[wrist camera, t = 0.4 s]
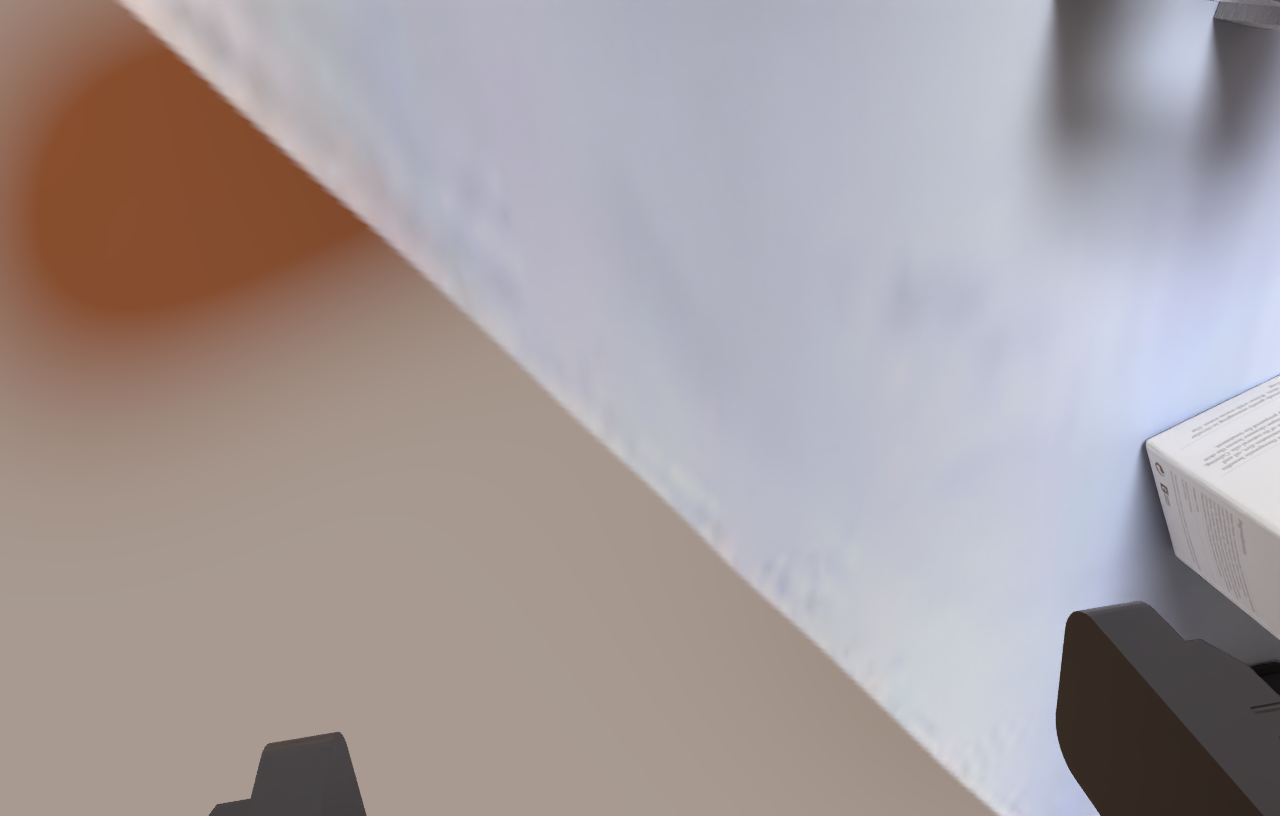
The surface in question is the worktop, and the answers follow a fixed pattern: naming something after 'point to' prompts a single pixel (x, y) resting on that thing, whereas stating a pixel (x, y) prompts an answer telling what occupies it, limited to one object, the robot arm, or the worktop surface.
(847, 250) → the worktop surface
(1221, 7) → the frame
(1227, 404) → the skincare box
